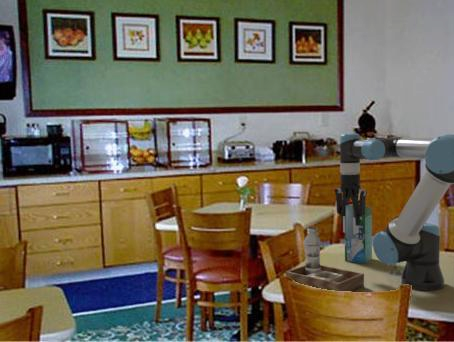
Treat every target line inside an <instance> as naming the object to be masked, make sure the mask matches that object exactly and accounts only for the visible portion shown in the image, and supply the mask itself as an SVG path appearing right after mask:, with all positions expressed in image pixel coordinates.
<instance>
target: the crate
mask: <svg viewBox="0 0 454 342" xmlns="http://www.w3.org/2000/svg"><path fill="white" fill-rule="evenodd" d="M305 265H306V264H304V265H302V266H299V267H296V268H292V269H289V270H287V271H285V277H286V276H288V277H290V278H292V279H293V280H294V281H295V282H298V283H300V284H304V285H308V286H312V287H316V288H321V289H327V290H335V291H353V292H355V291H358V290H361V289H362V288H365V273H362V272H357V271H351V270H346V269H341V268H337V267H333V266H332V267H331V266H327V265H323V264H322V265H321V264H320V267H321V270H320V271H317V272H315V273H312V274H309V275H305V273H304V272H305V267H306V266H305Z"/></svg>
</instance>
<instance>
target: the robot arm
mask: <svg viewBox="0 0 454 342" xmlns="http://www.w3.org/2000/svg"><path fill="white" fill-rule="evenodd" d="M386 158H395V159H396V158H397V159H398V158H399V159H404V158H405V159H416V160H417V159H419V160H424V162H425V164H424V168H425V170H426V171H425V173H424V174H423V176H422V177H421V179H420V181H419V182H418V183H417V185H416V187H415V188H414V191H413V192H412V194H411V196H410V197H409V199H408V201H407V202H406V204H405V205H404V207H403V209H402V210H401V212H400V213H399V216H398V217H397V218H396V219H392V220H391V221H390V222H389V223H388V225H387V226H386V228H385V230H383V231H378V232H376V233H375V234H374V236H373V237H372V249H373V252H374V254H375V257H376V258H377V259H378V261H380V262H381V263H383V264H385V265H395V264H399V263H403V262H405V265H404V268H403V272H402V274H401V277H400V280H401V281H400V283H401V285H402V284H409V285H412V290H419V291H435V290H440V289H442V288H444V287H445V278H444V275H443V272H442V269H441V267H440V266H441V265H440V249H441V247H440V246H441V245H440V244H441V243H440V241H441V235H440V228H439V226H438V225H436V224H433V223H428V222H427V221H428V220H429V218H430V217H431V215H432V214H433V212H434V211H435V209H436V207H437V206H438V205H439V203H440V201H441V200H442V198H443V197H444V196H445V194H446V193H447V191H448V189H449V188H450V187H451V185H454V134H445V135H441V136H437V137H435V138H433V137H432V138H431V137H429V138H428V137H427V138H426V137H422V138H421V137H402V136H395V137H389V138H388V137H386V138H384V137H383V138H382V137H381V138H370V139H369V138H368V139H366V138H363V139H361V138H360V134H359V133H343V134H340V137H339V161H340V163H339V164H340V165H339V168H340V169H339V172H340V175H339V178H340V187H338V188H335V189H334V194H335V201H336V214H338V215H340V217H341V224H342V228H343V229H342V232H343V233H344V234H345V233H346V208H345V205H349V201H352V205H353V208H354V213H355V216H354V217H353V234H357V233H359V225H360V217H361V216H364V215H365V206H366V196H367V194H368V191H367V190H364V189H362V188H361V185H360V184H361V174H360V172H361V160H368V161H379V160H380V159H386ZM350 199H351V200H350Z"/></svg>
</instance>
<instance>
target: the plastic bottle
mask: <svg viewBox="0 0 454 342" xmlns="http://www.w3.org/2000/svg"><path fill="white" fill-rule="evenodd" d="M306 234H307V235H306V236H305V238H304V240H303V246H304V252H305V264H304V265H305V266H306V267H305V272H304V273H305V275H309V274H312V273H315V272H317V271H320V270H321V267H320V265H321V261H320V258H321V257H320V256H321V247H322V246H321V244H322V243H321V239H320V237H319V236H318V228H317V227H307V231H306Z"/></svg>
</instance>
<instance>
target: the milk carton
mask: <svg viewBox="0 0 454 342" xmlns="http://www.w3.org/2000/svg"><path fill="white" fill-rule="evenodd" d="M372 210H373V207H372V206H368V205H365V215H364V216H361V217H360V225H359V233H357V234H356V239H347V238H346V233H344V262H348V261H350V262H351V263H357V264H366V263H367V262H369V261H370V260H372V258H373V233H372V232H373V228H372V227H373V223H372V222H373V216H372V215H373V214H372V213H373V211H372Z"/></svg>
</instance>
